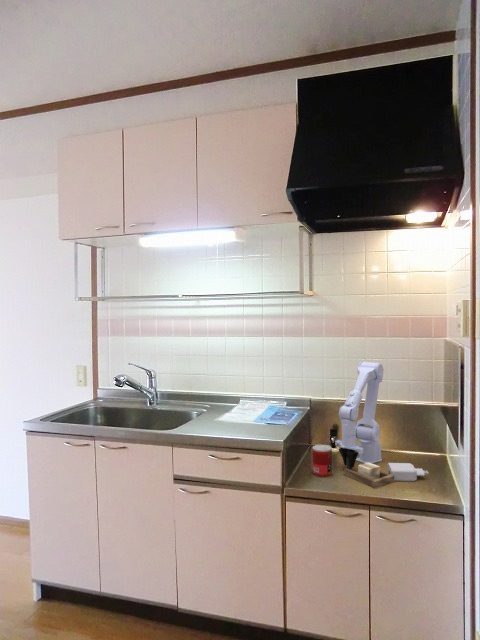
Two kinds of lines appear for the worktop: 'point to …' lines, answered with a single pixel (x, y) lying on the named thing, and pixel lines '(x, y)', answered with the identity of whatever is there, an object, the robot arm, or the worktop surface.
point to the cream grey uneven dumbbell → (366, 469)
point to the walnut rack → (381, 481)
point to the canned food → (322, 460)
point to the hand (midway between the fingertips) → (349, 466)
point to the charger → (405, 471)
